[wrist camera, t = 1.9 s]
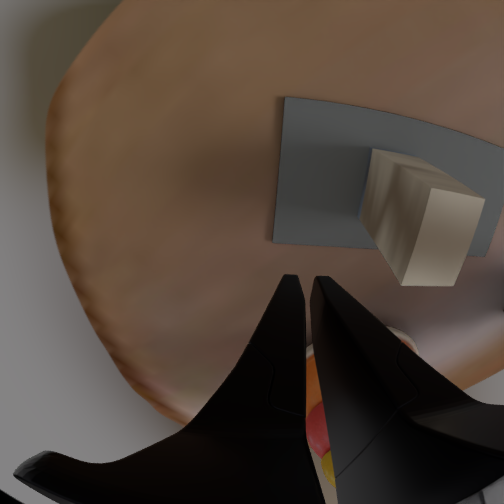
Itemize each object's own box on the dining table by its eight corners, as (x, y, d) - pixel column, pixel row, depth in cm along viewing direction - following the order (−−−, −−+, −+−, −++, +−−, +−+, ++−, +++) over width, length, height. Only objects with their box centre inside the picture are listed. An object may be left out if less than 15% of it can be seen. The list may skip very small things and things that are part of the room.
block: (400, 220, 20) (453, 286, 13) (357, 216, 20) (401, 285, 13) (415, 155, 18) (485, 199, 11) (369, 146, 18) (431, 187, 11)
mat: (483, 255, 22) (484, 256, 22) (272, 240, 22) (272, 243, 21) (513, 153, 17) (516, 154, 17) (284, 96, 17) (285, 96, 16)
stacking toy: (390, 392, 32) (424, 529, 16) (279, 403, 33) (284, 557, 16) (429, 308, 25) (509, 489, 8) (285, 318, 26) (301, 558, 9)
